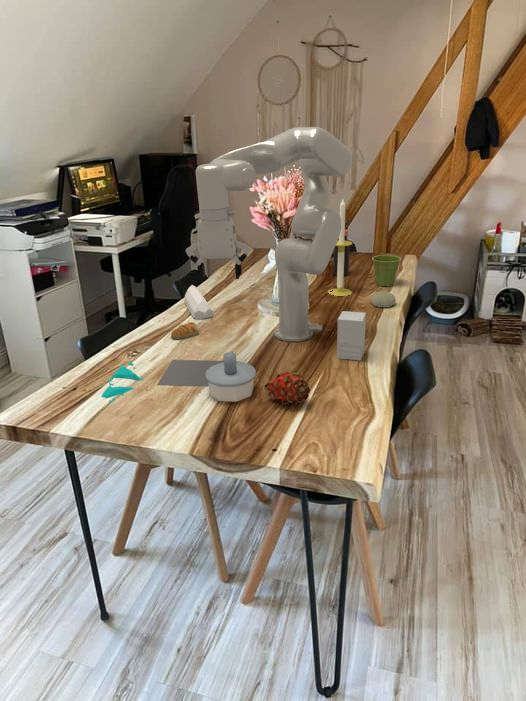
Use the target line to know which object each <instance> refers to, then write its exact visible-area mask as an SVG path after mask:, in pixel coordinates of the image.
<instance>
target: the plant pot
mask: <svg viewBox="0 0 526 701" xmlns="http://www.w3.org/2000/svg"><path fill="white" fill-rule="evenodd" d="M371 259H372V262H373V263H372V264H373V267H374V277H375V283H376V286H379V287H391V286H393V285H394V284H395V280H396V277H397V272H398V267H399V266H400V262H401V260H402V258H401V257H400V256H397V255H392V254H390V255H388V254H381V255H374V256H372V258H371Z"/></svg>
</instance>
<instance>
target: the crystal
mask: <svg viewBox="0 0 526 701" xmlns="http://www.w3.org/2000/svg"><path fill="white" fill-rule="evenodd" d="M183 298H184V301H183V302H184V304H185V305H186V308H187V309H188V311H189V313H190V314H191V316H192V318H193V319H196V320H205V319H210V318H212V317H213V316H214V311H213V309H212V307H211V306H210V305H209V303H208V302H207V300H206V298H205V297H204V296H203V294H202V293H201V291H200V290H199V289H198V287H196V286H195V285H193V284H191V285H190V286H189V287H188V289H187V290H186V292H185V295H184V297H183ZM209 317H210V318H209Z"/></svg>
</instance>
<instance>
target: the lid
mask: <svg viewBox="0 0 526 701" xmlns="http://www.w3.org/2000/svg"><path fill="white" fill-rule="evenodd" d="M223 361H224V362H223V363H219V364H216V365H213V366H212V367H210V368H209V369H208V370H207V371H206V379H207V381H208V382H209V383H211V384H213V385H216V386H222V387H234V386H240V385H244V384H246V383H249V382H250V381H252V380H253V381H254V380H255V378H256V374H257V371H256V368H255V367H254V366H253V365H251V364H250V363H246V362H243V361H237V353H236V352H233V351H230V352H229V351H228V352H225V353H224V354H223Z"/></svg>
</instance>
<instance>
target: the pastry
mask: <svg viewBox="0 0 526 701" xmlns="http://www.w3.org/2000/svg"><path fill="white" fill-rule="evenodd" d="M199 333H200V329H199V327H198V325H197V324H196V323H195V322H193V321H190V322H189V321H188V322H187V323H184V324H180V325H179V326H178V327H176V328H175V329H174V330H172V331H171V334H170V337H171V338H172V339H174V340H182V339H188V338H192V337H195V336H197V335H199Z"/></svg>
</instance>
